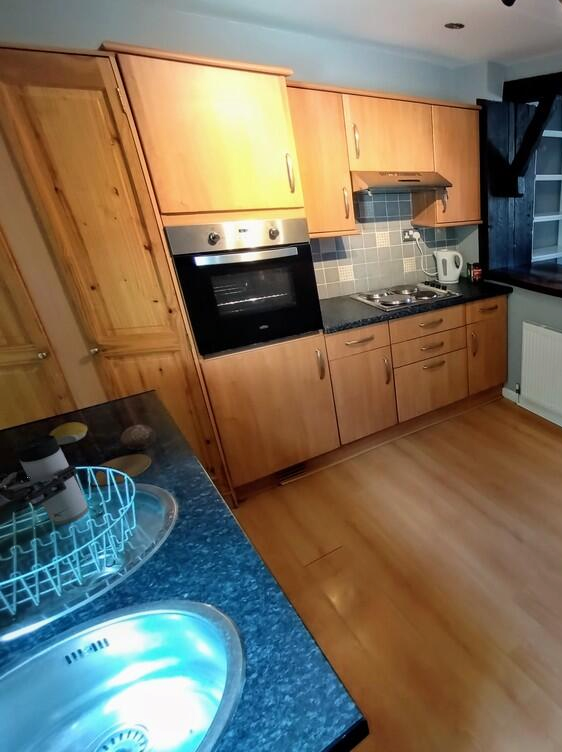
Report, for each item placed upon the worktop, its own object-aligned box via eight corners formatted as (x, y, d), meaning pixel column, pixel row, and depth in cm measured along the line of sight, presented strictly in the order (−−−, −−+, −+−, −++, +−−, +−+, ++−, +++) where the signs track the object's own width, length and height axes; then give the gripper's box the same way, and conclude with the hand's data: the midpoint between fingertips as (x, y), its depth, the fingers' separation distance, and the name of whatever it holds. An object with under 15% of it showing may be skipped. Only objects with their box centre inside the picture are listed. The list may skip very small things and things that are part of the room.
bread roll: (89, 427, 136) (84, 415, 135) (86, 440, 130) (80, 428, 128) (52, 435, 132) (47, 423, 130) (47, 449, 125) (41, 437, 124)
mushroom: (115, 435, 126) (120, 420, 124) (150, 433, 133) (156, 420, 130) (118, 458, 123) (125, 443, 120) (154, 455, 129) (161, 441, 126)
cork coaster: (80, 492, 109) (80, 490, 109) (94, 463, 119) (94, 462, 119) (146, 476, 115) (146, 474, 115) (154, 450, 125) (154, 449, 125)
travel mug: (63, 528, 98) (24, 451, 90) (45, 521, 100) (4, 445, 92) (96, 510, 103) (62, 435, 95) (78, 503, 105) (43, 430, 97)
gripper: (-56, 532, 86) (35, 479, 100) (10, 538, 84) (93, 483, 99) (-77, 501, 83) (20, 451, 97) (-9, 507, 81) (80, 455, 96)
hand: (57, 467), depth 98 cm, fingers open, 8 cm apart
